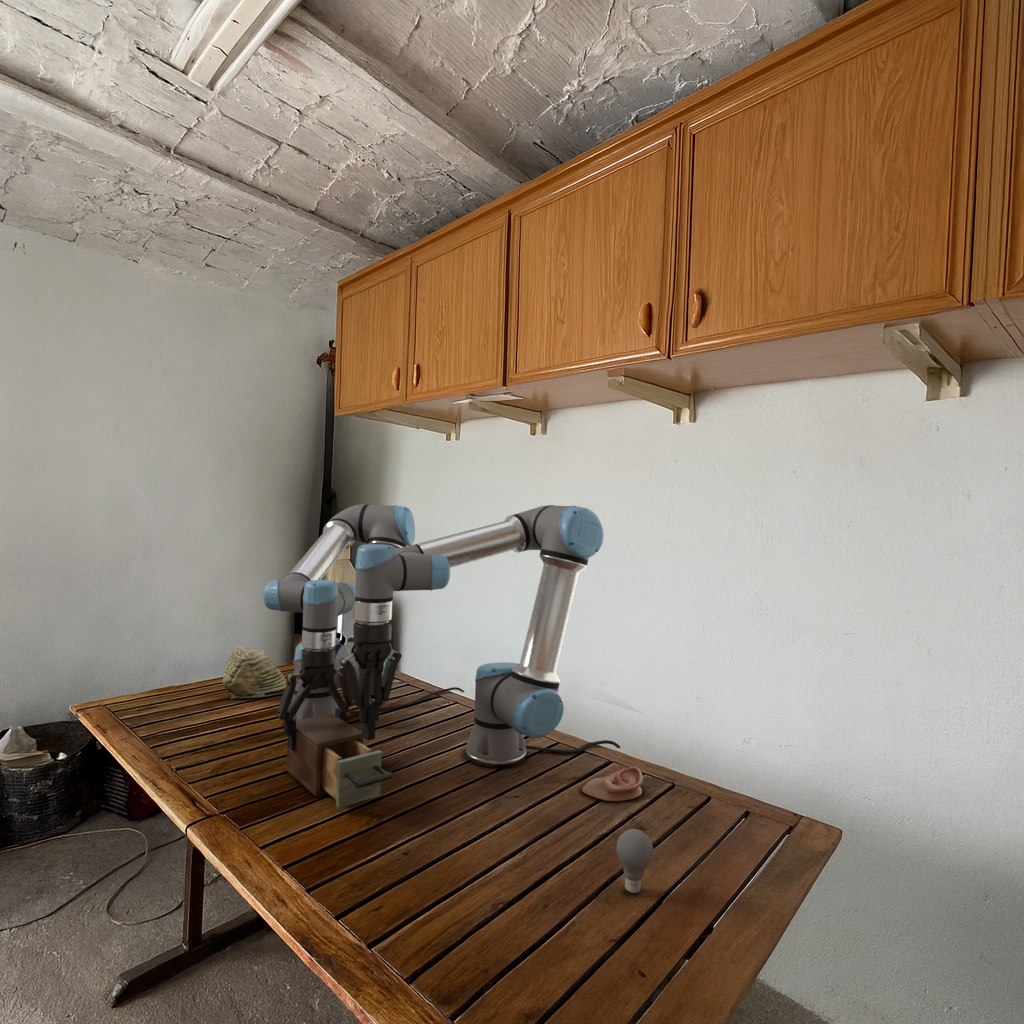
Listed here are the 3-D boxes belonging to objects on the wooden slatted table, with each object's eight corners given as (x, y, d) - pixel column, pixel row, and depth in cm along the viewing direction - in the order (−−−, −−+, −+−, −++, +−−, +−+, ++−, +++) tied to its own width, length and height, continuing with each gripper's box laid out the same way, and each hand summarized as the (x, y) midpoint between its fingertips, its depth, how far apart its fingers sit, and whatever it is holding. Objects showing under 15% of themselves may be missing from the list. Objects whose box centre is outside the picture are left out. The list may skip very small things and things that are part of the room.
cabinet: (361, 783, 141) (363, 733, 140) (315, 796, 134) (317, 743, 133) (329, 759, 153) (331, 713, 152) (286, 770, 146) (288, 722, 145)
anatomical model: (581, 779, 138) (585, 758, 149) (580, 797, 138) (585, 775, 149) (643, 787, 135) (643, 766, 147) (642, 806, 136) (642, 783, 147)
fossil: (218, 695, 195) (220, 647, 195) (278, 685, 208) (279, 640, 207) (228, 703, 189) (230, 653, 188) (289, 692, 201) (290, 645, 201)
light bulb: (610, 879, 108) (613, 822, 108) (644, 879, 109) (647, 822, 109) (619, 902, 102) (622, 840, 102) (655, 901, 103) (658, 840, 103)
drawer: (395, 806, 129) (396, 761, 128) (352, 820, 122) (354, 773, 122) (348, 771, 144) (349, 730, 144) (308, 782, 138) (309, 739, 138)
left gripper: (274, 657, 136) (271, 759, 136) (371, 645, 151) (368, 736, 151) (262, 650, 141) (258, 748, 142) (356, 639, 157) (353, 727, 157)
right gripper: (351, 627, 120) (346, 751, 121) (410, 621, 129) (405, 736, 129) (334, 621, 126) (329, 738, 126) (391, 615, 135) (387, 725, 135)
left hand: (315, 742), depth 147 cm, fingers closed on cabinet, 11 cm apart
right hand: (368, 737), depth 128 cm, fingers closed
